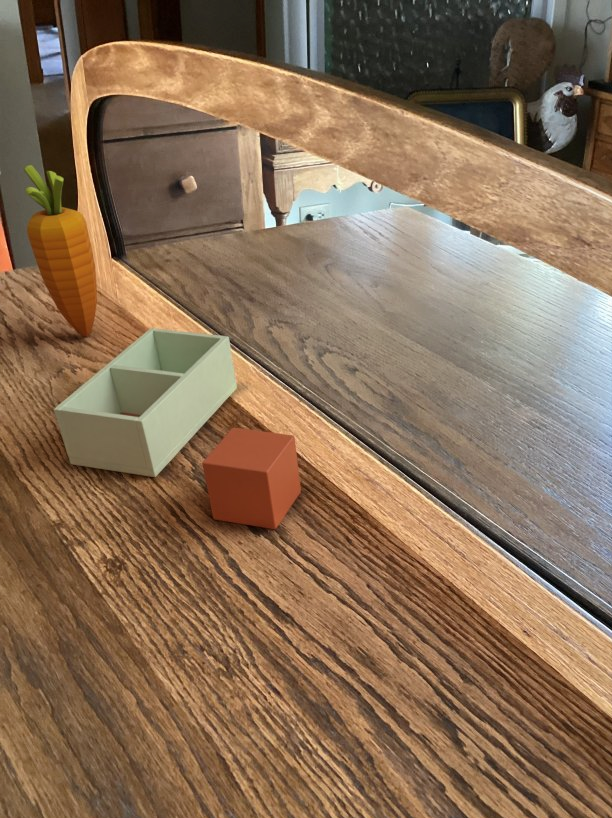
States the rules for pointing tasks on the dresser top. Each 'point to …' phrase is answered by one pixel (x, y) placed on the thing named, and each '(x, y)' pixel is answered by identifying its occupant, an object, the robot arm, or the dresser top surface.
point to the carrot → (63, 253)
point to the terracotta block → (252, 477)
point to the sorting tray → (147, 402)
